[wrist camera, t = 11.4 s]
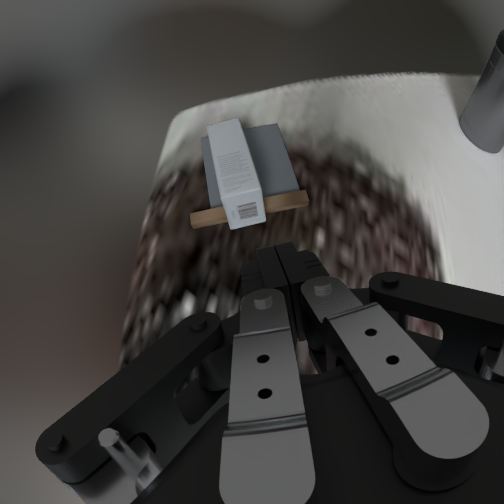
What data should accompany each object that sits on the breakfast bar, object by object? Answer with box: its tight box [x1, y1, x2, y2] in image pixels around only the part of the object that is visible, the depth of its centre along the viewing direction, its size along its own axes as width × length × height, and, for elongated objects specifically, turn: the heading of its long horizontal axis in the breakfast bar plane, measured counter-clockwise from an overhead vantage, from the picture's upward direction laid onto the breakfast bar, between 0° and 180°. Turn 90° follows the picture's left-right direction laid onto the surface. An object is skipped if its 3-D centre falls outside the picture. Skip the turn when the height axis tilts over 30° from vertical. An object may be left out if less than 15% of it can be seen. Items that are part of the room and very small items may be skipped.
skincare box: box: [207, 118, 266, 229], centre depth 36 cm, size 6×4×12 cm
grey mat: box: [201, 124, 300, 209], centre depth 41 cm, size 11×12×1 cm
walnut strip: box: [190, 190, 309, 229], centre depth 38 cm, size 14×2×1 cm, turn 101°
